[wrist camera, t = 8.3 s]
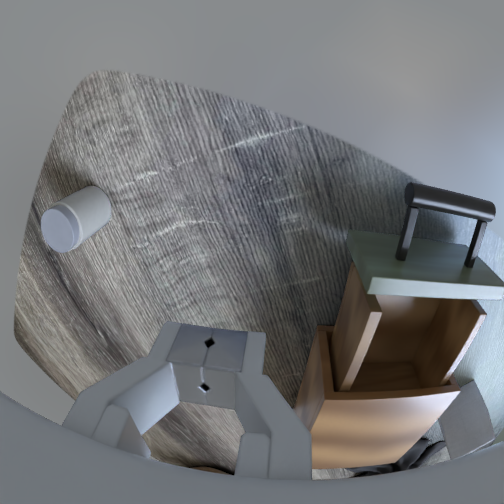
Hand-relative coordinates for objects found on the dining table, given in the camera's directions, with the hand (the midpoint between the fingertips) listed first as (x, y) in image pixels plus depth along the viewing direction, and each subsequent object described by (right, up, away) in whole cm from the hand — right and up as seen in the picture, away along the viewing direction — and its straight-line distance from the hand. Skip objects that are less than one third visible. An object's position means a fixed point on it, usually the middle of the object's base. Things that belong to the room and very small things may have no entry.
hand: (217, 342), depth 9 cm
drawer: (+14, 0, +14) cm, 19 cm away
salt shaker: (-13, +7, +14) cm, 21 cm away
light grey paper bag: (+30, -18, +22) cm, 42 cm away
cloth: (+29, -37, +32) cm, 57 cm away
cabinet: (+13, -11, +20) cm, 27 cm away
